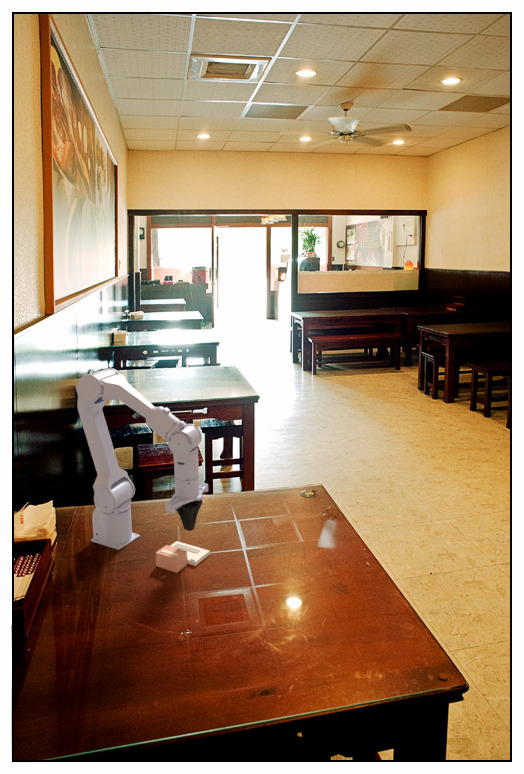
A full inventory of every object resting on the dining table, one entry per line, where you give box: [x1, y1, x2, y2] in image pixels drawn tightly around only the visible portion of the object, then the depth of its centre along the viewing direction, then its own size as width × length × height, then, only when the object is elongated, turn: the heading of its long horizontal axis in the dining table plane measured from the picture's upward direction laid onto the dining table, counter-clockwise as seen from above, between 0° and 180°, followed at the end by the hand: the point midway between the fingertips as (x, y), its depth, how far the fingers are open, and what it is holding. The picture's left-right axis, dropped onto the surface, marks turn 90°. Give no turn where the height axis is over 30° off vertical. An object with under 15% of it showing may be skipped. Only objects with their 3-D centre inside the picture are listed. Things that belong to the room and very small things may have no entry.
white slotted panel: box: [169, 540, 211, 567], centre depth 135 cm, size 10×6×1 cm, turn 61°
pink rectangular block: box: [155, 544, 188, 574], centre depth 130 cm, size 6×4×4 cm, turn 61°
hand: (189, 529), depth 135 cm, fingers closed
